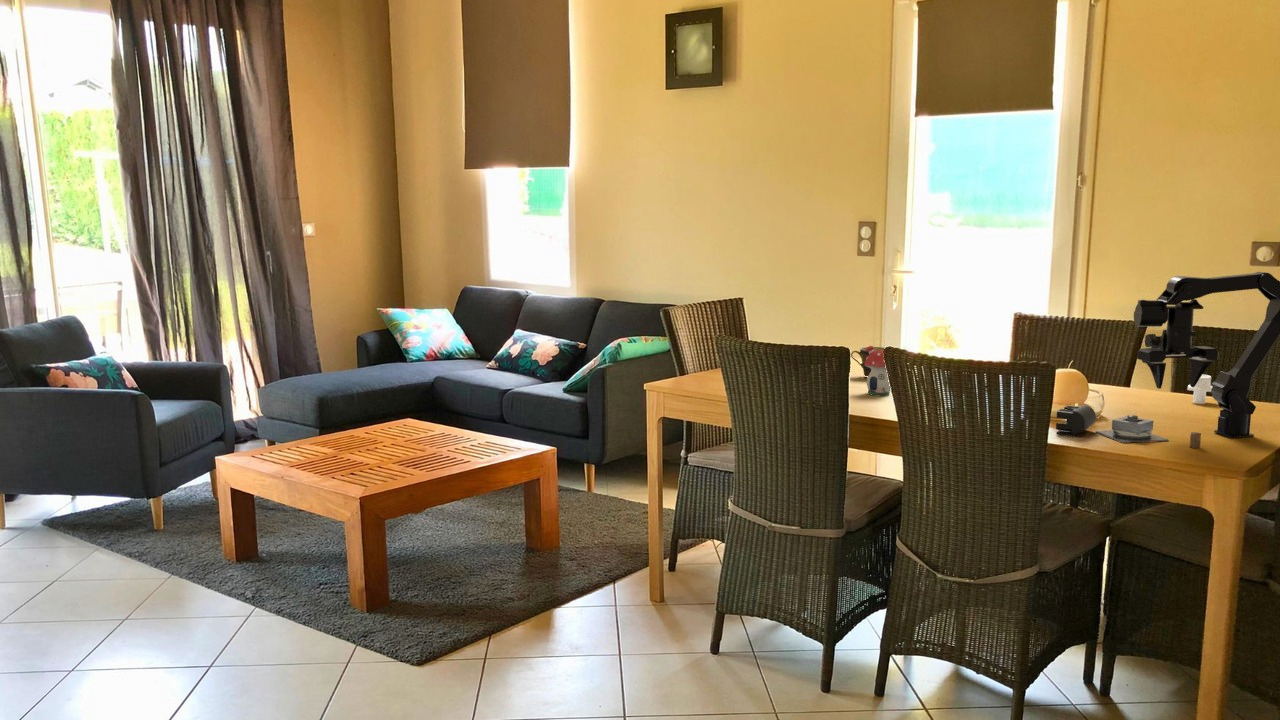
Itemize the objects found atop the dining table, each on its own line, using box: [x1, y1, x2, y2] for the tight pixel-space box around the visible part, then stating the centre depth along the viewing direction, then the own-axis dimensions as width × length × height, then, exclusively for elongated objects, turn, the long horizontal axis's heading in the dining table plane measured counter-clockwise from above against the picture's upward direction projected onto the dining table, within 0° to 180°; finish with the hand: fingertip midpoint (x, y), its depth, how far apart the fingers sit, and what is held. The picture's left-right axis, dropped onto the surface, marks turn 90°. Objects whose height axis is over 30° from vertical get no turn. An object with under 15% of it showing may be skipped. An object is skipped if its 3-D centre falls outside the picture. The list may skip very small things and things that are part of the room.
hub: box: [1095, 414, 1170, 444], centre depth 257 cm, size 12×12×5 cm
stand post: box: [1189, 431, 1202, 449], centre depth 245 cm, size 2×2×4 cm
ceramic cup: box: [850, 346, 885, 376], centre depth 347 cm, size 13×10×10 cm
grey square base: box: [1111, 415, 1154, 434], centre depth 256 cm, size 7×7×2 cm
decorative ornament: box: [865, 345, 891, 396], centre depth 317 cm, size 9×7×15 cm
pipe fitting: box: [1187, 374, 1213, 405], centre depth 297 cm, size 6×7×8 cm
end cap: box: [1055, 404, 1097, 437], centre depth 262 cm, size 10×7×7 cm
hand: (1175, 387), depth 258 cm, fingers open, 9 cm apart
